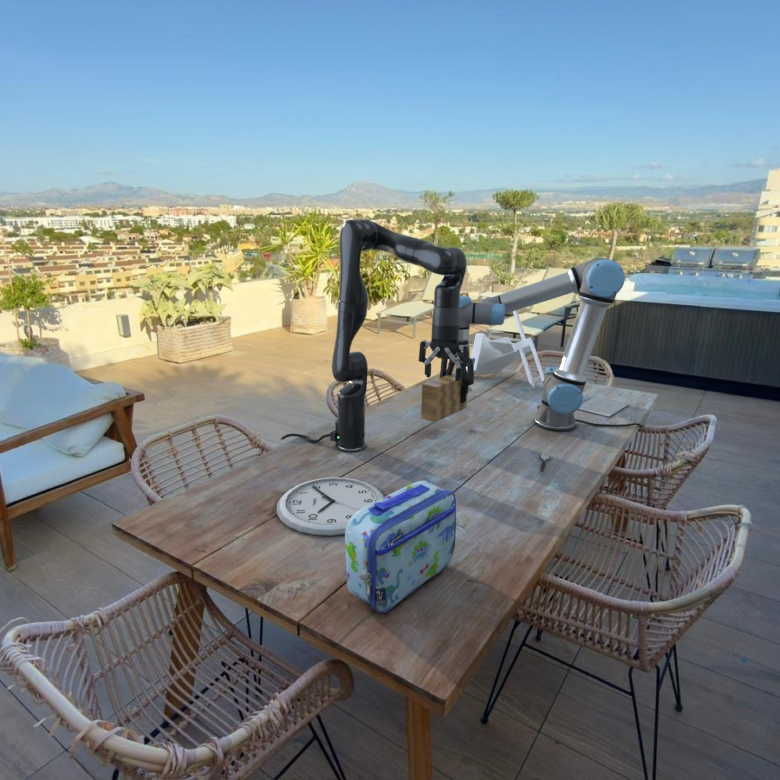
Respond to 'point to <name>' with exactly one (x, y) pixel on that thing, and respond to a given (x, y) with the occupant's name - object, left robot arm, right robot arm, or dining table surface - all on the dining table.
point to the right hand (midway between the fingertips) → (455, 400)
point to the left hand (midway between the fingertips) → (442, 378)
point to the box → (441, 398)
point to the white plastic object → (503, 353)
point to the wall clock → (325, 504)
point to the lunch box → (399, 543)
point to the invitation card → (602, 406)
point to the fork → (544, 459)
